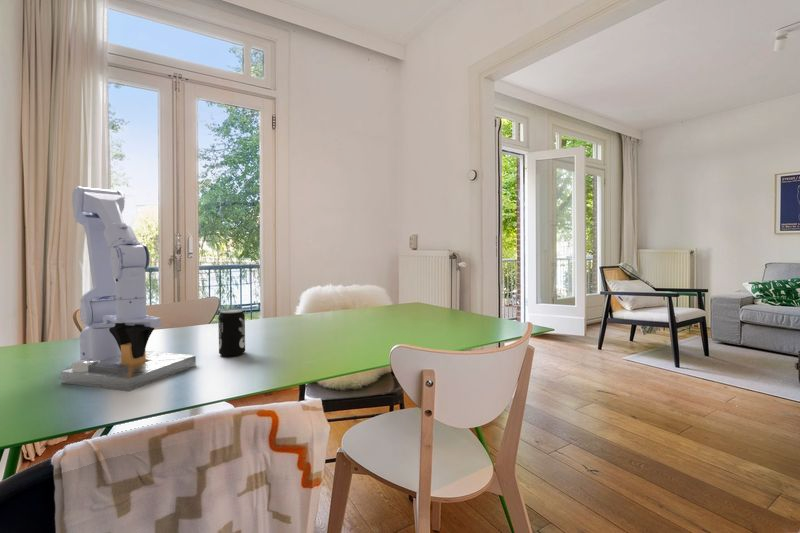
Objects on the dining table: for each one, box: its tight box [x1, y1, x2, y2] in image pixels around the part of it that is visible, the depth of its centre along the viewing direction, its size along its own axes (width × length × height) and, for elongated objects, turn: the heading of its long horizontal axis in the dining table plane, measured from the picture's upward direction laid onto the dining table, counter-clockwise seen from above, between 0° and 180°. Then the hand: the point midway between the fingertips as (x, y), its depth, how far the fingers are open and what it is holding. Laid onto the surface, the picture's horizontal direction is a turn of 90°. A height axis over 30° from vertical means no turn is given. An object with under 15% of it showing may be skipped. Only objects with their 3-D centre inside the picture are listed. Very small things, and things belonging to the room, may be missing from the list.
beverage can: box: [217, 308, 246, 358], centre depth 107 cm, size 7×7×12 cm
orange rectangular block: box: [121, 343, 146, 367], centre depth 91 cm, size 2×4×7 cm, turn 165°
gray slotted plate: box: [60, 350, 197, 392], centre depth 91 cm, size 18×18×4 cm
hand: (133, 356), depth 91 cm, fingers open, 3 cm apart
